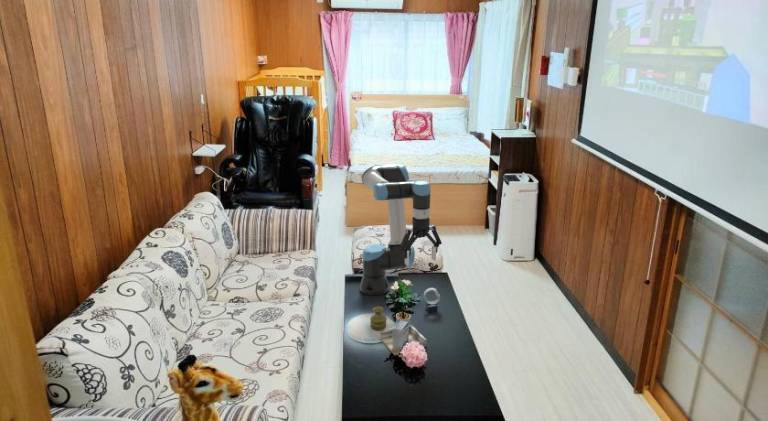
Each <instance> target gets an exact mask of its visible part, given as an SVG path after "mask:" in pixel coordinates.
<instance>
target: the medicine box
mask: <svg viewBox="0 0 768 421" xmlns="http://www.w3.org/2000/svg"><path fill="white" fill-rule="evenodd" d="M409 325H410V322H408V321H405V320H399V321H398V322H397V323H396V324H395V325H394V326H393V327H392V339H393V347H397V348H402V347H403V346H404V345H405V344H406V342H407V341H408V339H409Z"/></svg>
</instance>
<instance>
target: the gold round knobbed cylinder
mask: <svg viewBox="0 0 768 421" xmlns="http://www.w3.org/2000/svg"><path fill="white" fill-rule="evenodd" d="M384 310H385V308H384V307H382V306H379V305H378V306H374V307H373V308H372V312H374V314H373V315H371V316H370V318H369V320H370V323H369V324H370V325H369V326H370V329H371V330H373V331H380V332H381V331H385V329H386V328H387V320H388V319H387V318H388V317H387V316H386V315H384V314H383V312H384Z"/></svg>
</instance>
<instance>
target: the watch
mask: <svg viewBox="0 0 768 421" xmlns="http://www.w3.org/2000/svg"><path fill="white" fill-rule="evenodd" d="M431 291H433V292H434V294H435V296H436V298H437V299H435V300H428V299H427V296H426V295H427V293H428V292H431ZM423 298H424V300H425V308H426V310H427V313H429V314H430V313H438V303H439V302H440V300H441V295H440V293H439V292H438V290H437V288H436V287H435V288H434V287H427V289H425V290H424V292H423Z"/></svg>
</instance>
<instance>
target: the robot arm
mask: <svg viewBox="0 0 768 421" xmlns="http://www.w3.org/2000/svg"><path fill="white" fill-rule="evenodd" d="M361 182H362V184H363V185H364V187H365V188H366V189H368V190H372V191H373V197H374V199H375V200H376V201H382V202H383V201H387V210H388V223H389V224H388V225H389V226H388V227H389V236H390V237H389V238H390V240H389V242H388V243H387V247H386V246H385V245H384V244H378V243H377V244H376V243H375V244H371V245H368V246H366V247H365V248H364V249H363V251H362V258H361V259H362V278H361V281H360V284H359V290H360V292H361V293H362V294H364V295H367V296H382V295H383V294H387V293H388V292H389V291H390V284H389V281H388V279H387V275H386V271H393V270H401V269H402V270H405V269H410V268H411V267H413V266H414V263H415V258H416V257H415V256H416V255H415V254H416V253H415V246H414V245H413V244H414V243H415V242H416V240H417V239H420V238H427V239H428V240H429V241H430V242H431V244H432V245H431V254H430V255H431V256H430V257H431V259H432V261H436V260H437V253H438V248H439V247H440V245H442V244H443V242H442V240H441V238H440V236H439V234H438V232H437V227H436V226H435V225H434V224H431V225H430V223H431V221H430V219H431V218H430V216H431V213H430V212H431V192H432V191H431V183H430V182H429V181H426V180H417V179H414V178H411V179H410V175H409V172H408V169H407V167H406V165H404V164H400V163H399V164H397V163H395V164H383V165H373V166H370V167H368V168H366V170H364V172H363V173H362V176H361ZM405 199H406V200H407V199H412V221H411V222H412V223H411V224H412V228H411V229H410V228H407V223H406V222H407V221H406V220H407V219H406V210H405V209H406V208H405ZM430 231H431V233H432V235H433V237H432V235H431V234H430ZM387 291H388V292H387Z"/></svg>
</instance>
